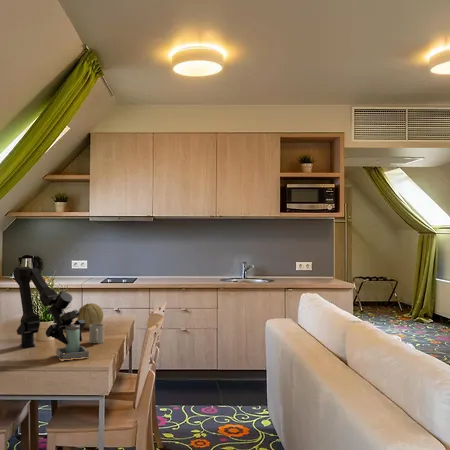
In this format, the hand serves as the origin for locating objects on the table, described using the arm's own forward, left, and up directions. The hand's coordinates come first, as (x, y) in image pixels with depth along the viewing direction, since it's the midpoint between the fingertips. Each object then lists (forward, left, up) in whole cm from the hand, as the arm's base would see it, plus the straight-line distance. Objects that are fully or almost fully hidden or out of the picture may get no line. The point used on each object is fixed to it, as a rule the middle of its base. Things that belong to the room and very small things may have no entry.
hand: (74, 342), depth 220 cm
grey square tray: (-1, -1, -7) cm, 7 cm away
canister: (-1, -1, -7) cm, 7 cm away
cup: (-23, +15, -7) cm, 29 cm away
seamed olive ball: (-61, +20, -7) cm, 65 cm away
